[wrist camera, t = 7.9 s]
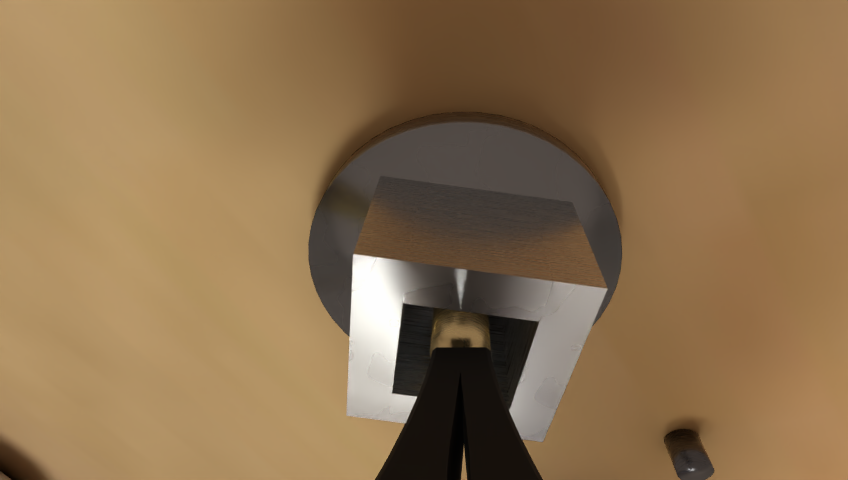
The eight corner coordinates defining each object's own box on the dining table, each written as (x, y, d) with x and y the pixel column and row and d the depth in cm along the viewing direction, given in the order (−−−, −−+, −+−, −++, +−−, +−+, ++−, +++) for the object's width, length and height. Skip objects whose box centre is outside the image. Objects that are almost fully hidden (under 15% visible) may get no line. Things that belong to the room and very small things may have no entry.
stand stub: (682, 452, 21) (696, 485, 20) (657, 442, 21) (669, 475, 20) (706, 436, 20) (721, 469, 19) (679, 425, 20) (694, 458, 19)
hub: (510, 390, 20) (521, 498, 16) (281, 299, 18) (232, 397, 14) (681, 202, 14) (758, 295, 11) (384, 48, 13) (350, 96, 9)
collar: (527, 340, 17) (542, 441, 13) (370, 319, 17) (346, 415, 13) (571, 202, 14) (607, 288, 10) (380, 175, 14) (353, 253, 10)
